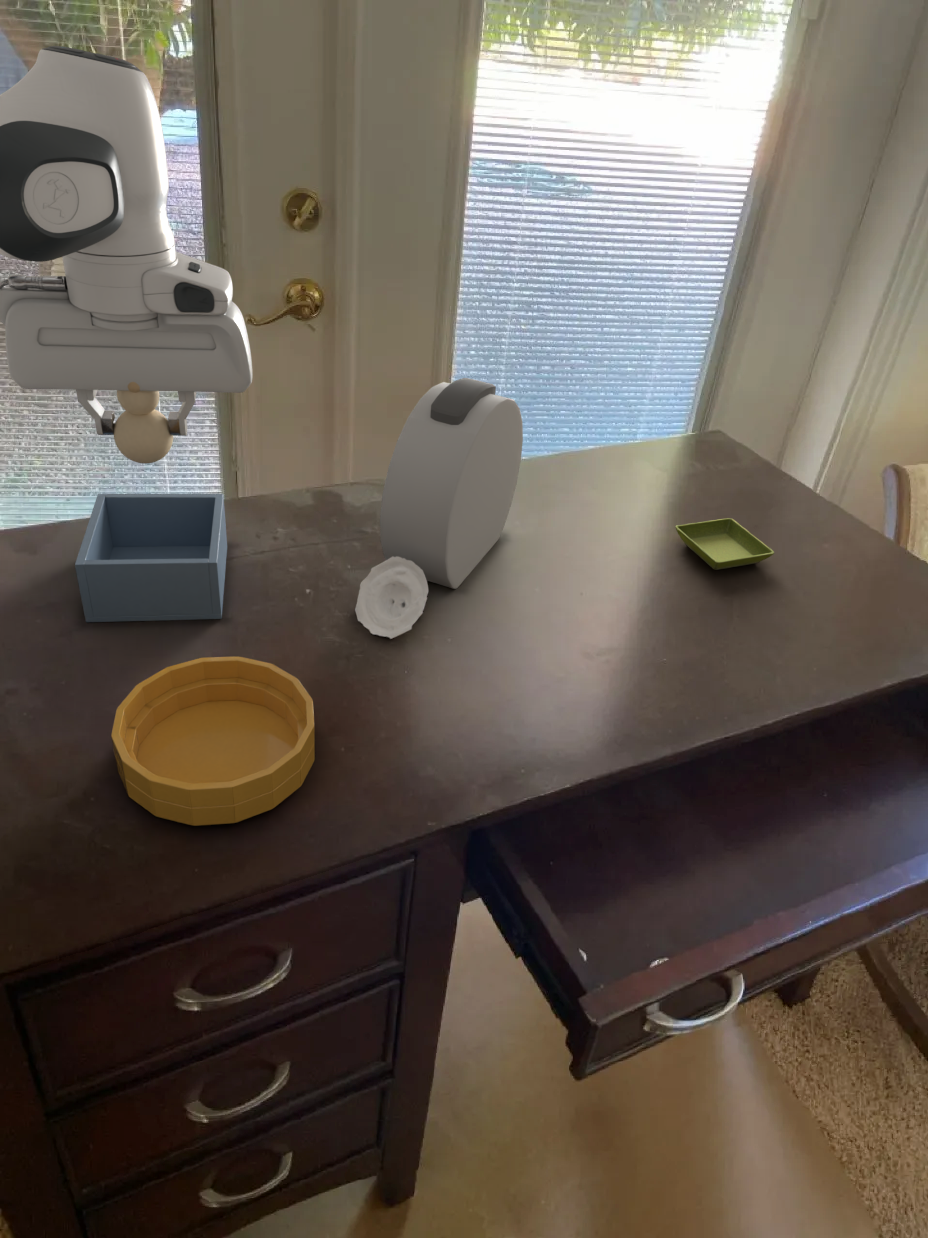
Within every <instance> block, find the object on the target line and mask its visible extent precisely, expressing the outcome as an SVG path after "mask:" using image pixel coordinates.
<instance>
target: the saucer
mask: <svg viewBox="0 0 928 1238" xmlns="http://www.w3.org/2000/svg"><path fill="white" fill-rule="evenodd" d="M674 528H675V530H676V532H677V535H678V537H679V538H680V540H681V541H682V542H683V543H684V545H686V546H687V548H689V549H690V550H691V551H693V552H694V553H695V554H696V555H697V556H698V557H699V558H700V559H701V560H703V562H705V563H706V564H707V565H708V566H709V567H710V568H712V569H713V570H715V571H719V570H723V569H730V568H737V567H741V566H746V565H753V564H757V563H760V562H762V561H765V560H766V559H768V558H770V557H772V556H774V554H775V551H774V550H773V549H772V548H771V547H770V546H768V545H767V544H765V542H763V541H762V540H761V539H759V538H757V537H756V536H755V535H754V534H753V533H751V532H750V531H749V530H748V529H746V528H745V527H744V526H743V525H741V524H740V523H739V522H738V521H736V520H735V519H733V518H731V517H726V518H725V517H724V518H719V519H713V520H712V519H711V520H705V521H699V522H692V523H691V522H690V523H684V524H683V523H682V524H678V525H675V526H674Z"/></svg>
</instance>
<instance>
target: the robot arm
mask: <svg viewBox="0 0 928 1238" xmlns="http://www.w3.org/2000/svg"><path fill="white" fill-rule="evenodd" d="M164 137H165V136H164V130H163V125H162V120H161V115H160V110H159V106H158V102H157V99H156V96H155V93H154V91H153V88H152V85H151V83H150V80H149V79H148V76H147V75H146V74H145V73H144V72H143V71H142V70H141V69H140V68H139V67H138V66H136V65H135V64H133V63H132V62H129V61H127V60H125V59H122V58H120V57H119V58H118V57H115V56H111V55H107V54H102V53H96V52H91V51H87V50H83V49H78V48H73V47H68V46H63V45H50V46H48V47H42V48H41V49H40V50H39V51H38V54H37V57H36V61H35V63H34V65H32V67H31V69H29V70H28V72H26V74H25V75H24V76H23V77H22V78H21V79H20V80H18V81H17V82H16V83H15V84H13V85H12V86H11V87H9V88H8V89H7V90H5V91H4V92H2V93H0V256H3V257H6V258H9V259H14V260H17V261H23V262H35V263H36V262H37V263H41V262H42V263H43V262H49V261H50V262H51V261H54V260H57V259H60V258H62V264H63V269H64V275H35V276H34V275H27V274H19V273H18V274H10V275H8V276H7V277H8V278H6V279H3V280H1V281H0V323H1V324H2V325H3V326H4V330H5V331H4V335H5V336H4V337H5V351H6V352H5V354H6V361H7V369H8V374H9V377H10V378H11V380H12V381H13V382H14V383H15V384H16V385H17V386H19V387H20V388H21V389H24V390H61V391H63V390H64V391H65V390H67V391H69V390H70V391H75V392H76V397H77V401H78V403H79V404H80V405H81V406H82V408H83V409H84V410H85V411H86V413H88V414H89V415H90V417H91V418H92V419H94V425H95V430H96V434H97V436H114V426H115V423H116V420H115V419H116V414H115V410H106V409H105V408H104V407H103V406H102V404H101V403H100V402H99V400H98V399H97V398H96V395H97V393H98V392H99V391H116V392H117V391H129V389H128V384H129V383H130V382H135V383H137V384H138V385H139V387H140V391H159V392H173V393H174V392H177V396H178V402H180V403H181V406H180V407H179V409H178V410H175V411H172V410H171V411H169V412H168V417H167V420H168V425H169V427H170V429H169V433H170V435H171V436H173V437H176V436H177V437H179V436H180V437H186V436H188V419H187V418H188V416H189V414H190V413H191V411H192V409H193V407H194V405H195V403H196V398H197V393H232V394H233V393H234V394H235V393H236V394H240V393H245V392H246V391H247V390H248V389H249V388H250V386H251V385H252V382H253V362H252V361H253V360H252V353H251V346H250V340H249V335H248V330H247V327H246V322H245V319H244V315H243V313H242V311H241V310H240V308H239V306H238V305H237V304H236V303H235V302H234V301H233V296H234V286H233V280H232V276H231V274H230V273H229V271H228V270H226V269H225V268H223V267H220V266H217V265H215V264H211V263H209V262H206V261H203V260H200V259H197V258H195V257H192V256H189V255H186V254H184V253H181V252H178V251H177V250H176V241H175V240H176V239H175V235H174V233H173V230H172V227H171V224H170V222H169V218H168V213H167V212H168V210H167V202H168V196H169V189H170V181H169V179H170V178H169V170H168V169H169V168H168V161H167V151H166V144H165V138H164Z"/></svg>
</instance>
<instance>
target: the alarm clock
mask: <svg viewBox="0 0 928 1238" xmlns="http://www.w3.org/2000/svg"><path fill="white" fill-rule="evenodd" d="M496 389H497V387H496V386H495V385H494V384H493V383H489V382H485V381H483V380H479V379H478V380H477V379H473V378H469V377H462V378H458V379H456V380H453V382H451V383H450V382H446V381H442V382H440V383H438V384H435V385H433V386H431V387H430V388H429V389H428V390H427V391H426V392H425V393H424V394H423V395H422V396H421V397H420V398H419V399H418V401H417V403H416V405H415V406H414V408H413V409H412V410H411V412H410V414H409V415H408V417H407V419H406V421H405V423H404V425H403V427H402V430H401V432H400V434H399V436H398V438H397V440H396V443H395V446H394V449H393V451H392V455H391V458H390V461H389V465H388V467H387V472H386V477H385V481H384V487H383V491H382V495H381V505H380V507H381V508H380V515H379V533H380V536H379V537H380V538H379V539H380V544H381V549H382V554H383V558H384V559H385V561H386V560H388V559H389V558H391V557H392V556H393V557H396V556H397V557H401V558H402V559H403V558H405V559H406V560H411V561H413V562H414V563H415V564H416V565H417V566H418V567H420V569H422V570H423V572H424V575H425V577H426V580H427V582H430V583H434V584H437V585H440V586H443V587H446V588H449V589H453V590H457V589H458V588H459V587H460V585H461V584H462V583H463V582H464V581H465V580H466V578H467V577H468V576H469V575H470V574H471V573H472V572H473V570H474V569H475V568H476V567H477V565H478V564H479V563H480V562H481V561H482V560H483V558H484V557H485V556H486V555H487V554H488V553H489V551H490V550H491V549H492V548H493V547H494V546H495V544H496V543H497V542H498V540H500V538H501V535H502V532H503V530H504V528H505V525H506V522H507V519H508V516H509V513H510V510H511V507H512V503H513V500H514V497H515V492H516V488H517V484H518V479H519V473H520V470H521V469H520V468H521V463H522V453H523V444H524V423H523V418H522V412H521V408H520V407H519V405H518V404H517V402H516V401H515V400H514V398H510V397H505V396H502V395H498V394H496Z"/></svg>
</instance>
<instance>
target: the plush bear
mask: <svg viewBox="0 0 928 1238" xmlns="http://www.w3.org/2000/svg"><path fill="white" fill-rule="evenodd" d="M128 389H129V391H117V390H116V398H117V401H118V403H119V405H120V406H121V408H122V409H123V410H125V411H123V412H122V413H121V414H120V415H119V416H118V417H117V419H116V420H115V422H116V423H115V426H114V435H113V440H114V443H115V445H116V448H117V449H118V450H119V452H120V453H121V455H122V456H124V457H125V458H127V459H128V460H130V461H132V462H134V463H137V464H143V465H144V464H153V463H156V462H158V461H160V460H162V459H163V458H165V457H166V456H167V455H168V454H169V452H170V451H171V448H172V446H173V442H174V436H171V435H170V433H169V429H170V427H169V425H168V417H166V416H165V415H164V414H163V413H162V412H160V411H159V410H157V409H156V408H157V407H158V404H159V402H160V391H140V387H139V385H138V384H137V383H135V382H130V383H129V384H128Z"/></svg>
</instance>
